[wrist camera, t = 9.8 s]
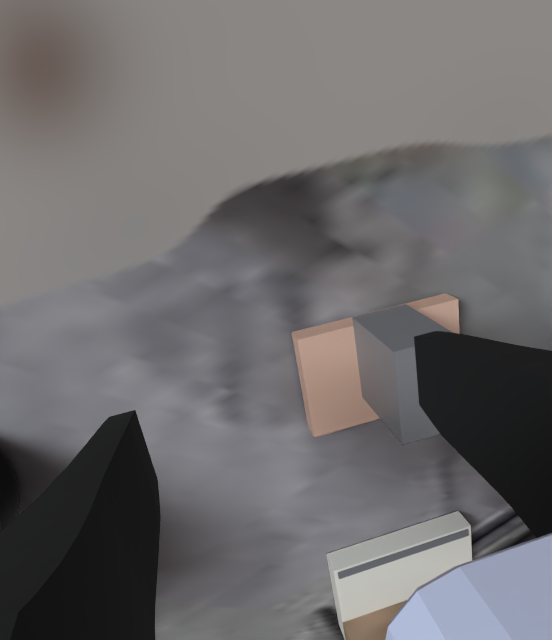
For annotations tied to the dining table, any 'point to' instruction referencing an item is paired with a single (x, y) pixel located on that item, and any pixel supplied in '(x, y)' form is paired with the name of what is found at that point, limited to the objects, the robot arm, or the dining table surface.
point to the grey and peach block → (370, 368)
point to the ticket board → (393, 572)
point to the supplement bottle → (8, 493)
